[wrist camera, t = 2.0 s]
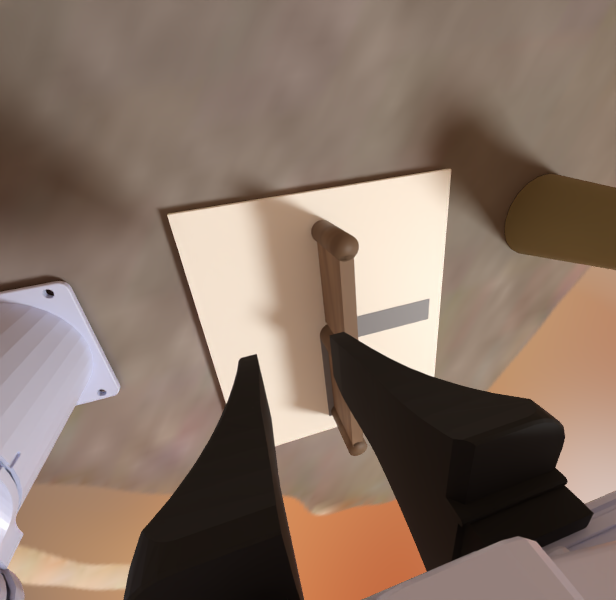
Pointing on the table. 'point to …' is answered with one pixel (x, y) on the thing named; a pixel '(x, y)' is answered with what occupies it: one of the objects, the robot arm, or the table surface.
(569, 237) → the cork
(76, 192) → the table surface
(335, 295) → the fence gate
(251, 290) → the card
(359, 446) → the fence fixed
